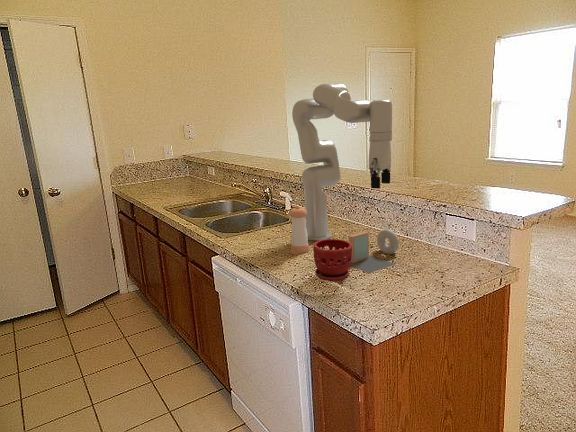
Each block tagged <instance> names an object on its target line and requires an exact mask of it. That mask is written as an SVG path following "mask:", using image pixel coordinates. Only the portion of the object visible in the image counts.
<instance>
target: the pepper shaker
mask: <svg viewBox="0 0 576 432" xmlns="http://www.w3.org/2000/svg"><path fill="white" fill-rule="evenodd" d="M288 214H289V216H290V217H291V234H290V235H291V236H290V237H291V238H290V239H291V244H290V250H291V251H290V252H291V253H290V254H292V255H294V256H296V255H297V256H299V255H304V254H306V253H309V252H310V245H309V244H310V243H309V240H308V235H307V230H306V215H307V211H306V208H304V207H301V206H300V205H298V206H297V205H296V207H294V208H291V209H290V211H289V213H288Z"/></svg>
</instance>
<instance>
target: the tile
mask: <svg viewBox="0 0 576 432" xmlns="http://www.w3.org/2000/svg"><path fill="white" fill-rule="evenodd" d="M369 233H370V232H368V231H362V232H361V231H360V232H358V233H353V234H349V235H348V242H349V243H351V244H352V258H351V263H355V262H358V261H361V260H364V259H367V258H369V255H370V254H369V253H370V251H369V250H370V248H369V247H370V243H369V242H370V241H369V240H370V239H369V237H370V236H369Z"/></svg>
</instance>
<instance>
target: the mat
mask: <svg viewBox="0 0 576 432" xmlns="http://www.w3.org/2000/svg"><path fill="white" fill-rule="evenodd" d="M395 265H396V263H393V262H391V261H387V260H385V259H382V258H379V257H375V256H373V255H370V254H369V258H367V259H364V260H361V261H358V262H355V263H350V266H349V267H352V268H354V269H358V270H360V271H362V272H365V273H367V274H370V273H373V272H377V271H380V270H382V269H383V270H384V269H386V268H389V267H392V266H395Z"/></svg>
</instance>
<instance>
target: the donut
mask: <svg viewBox="0 0 576 432" xmlns="http://www.w3.org/2000/svg"><path fill="white" fill-rule="evenodd" d="M386 239H388V242H389V244H388V243H387V241H386ZM376 243H377V246H378V248H379V250H380V251H381V252H382V253H384V254H387V255H393V254H395V253H397V251H398V249H399V246H400V242H399V238H398V236H397V234H396V233H395V232H394V231H393V230H391V229H389V228H386V229H385V228H384V229H381V230H380V231H379V232H378V234H377V237H376Z"/></svg>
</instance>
